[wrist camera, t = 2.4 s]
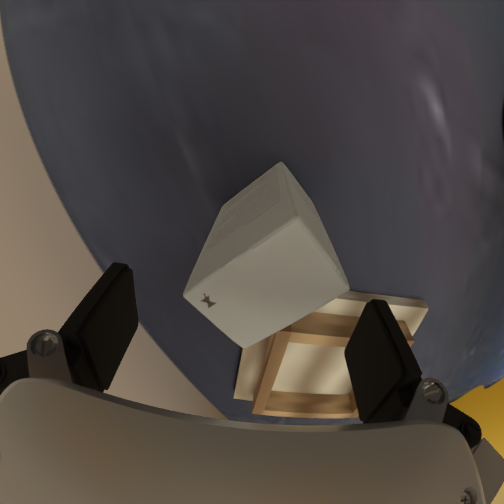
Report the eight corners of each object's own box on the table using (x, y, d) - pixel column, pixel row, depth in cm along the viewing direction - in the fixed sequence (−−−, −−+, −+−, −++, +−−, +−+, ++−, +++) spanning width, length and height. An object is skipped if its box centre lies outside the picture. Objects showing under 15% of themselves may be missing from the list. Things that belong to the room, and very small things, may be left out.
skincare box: (255, 243, 24) (241, 353, 13) (221, 205, 22) (176, 296, 12) (315, 201, 21) (354, 292, 11) (282, 158, 20) (295, 212, 10)
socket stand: (423, 299, 25) (440, 327, 21) (361, 397, 34) (366, 423, 30) (255, 277, 25) (252, 309, 21) (234, 389, 34) (231, 417, 30)
